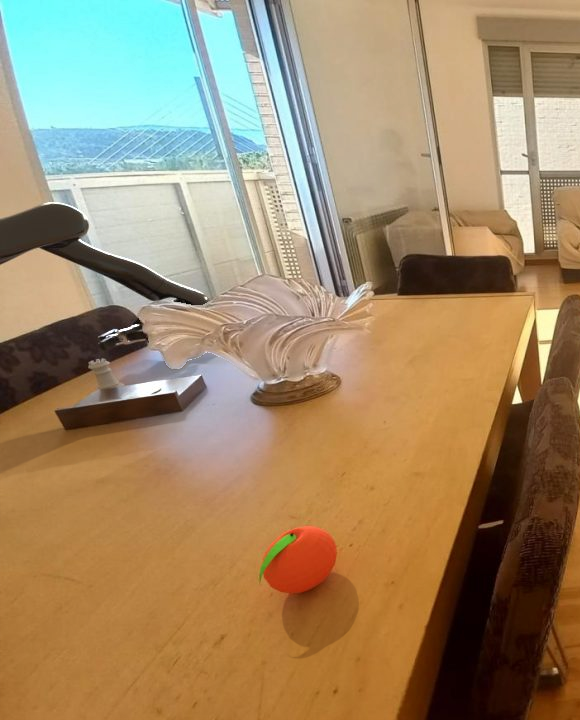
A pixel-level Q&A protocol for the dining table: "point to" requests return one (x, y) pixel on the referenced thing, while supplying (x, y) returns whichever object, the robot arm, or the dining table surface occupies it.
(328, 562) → the clementine
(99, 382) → the rook chess piece
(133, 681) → the dining table surface
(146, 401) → the shelf
